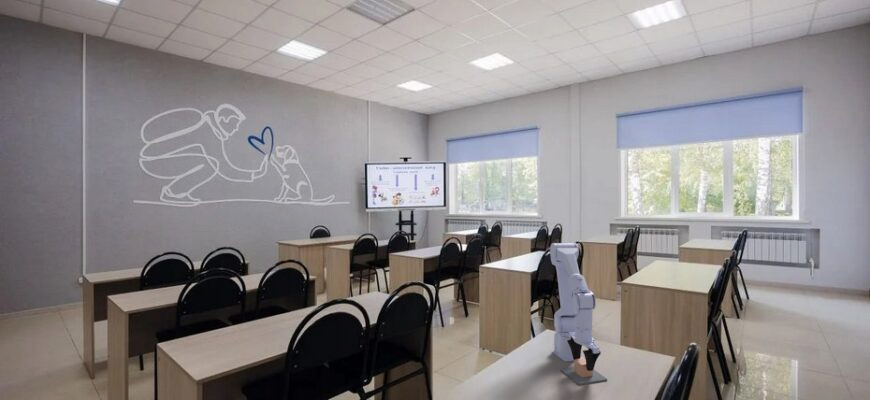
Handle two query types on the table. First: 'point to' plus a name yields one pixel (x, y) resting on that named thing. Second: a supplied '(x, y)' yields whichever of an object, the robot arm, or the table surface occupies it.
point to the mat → (583, 380)
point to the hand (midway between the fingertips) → (583, 365)
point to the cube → (581, 368)
